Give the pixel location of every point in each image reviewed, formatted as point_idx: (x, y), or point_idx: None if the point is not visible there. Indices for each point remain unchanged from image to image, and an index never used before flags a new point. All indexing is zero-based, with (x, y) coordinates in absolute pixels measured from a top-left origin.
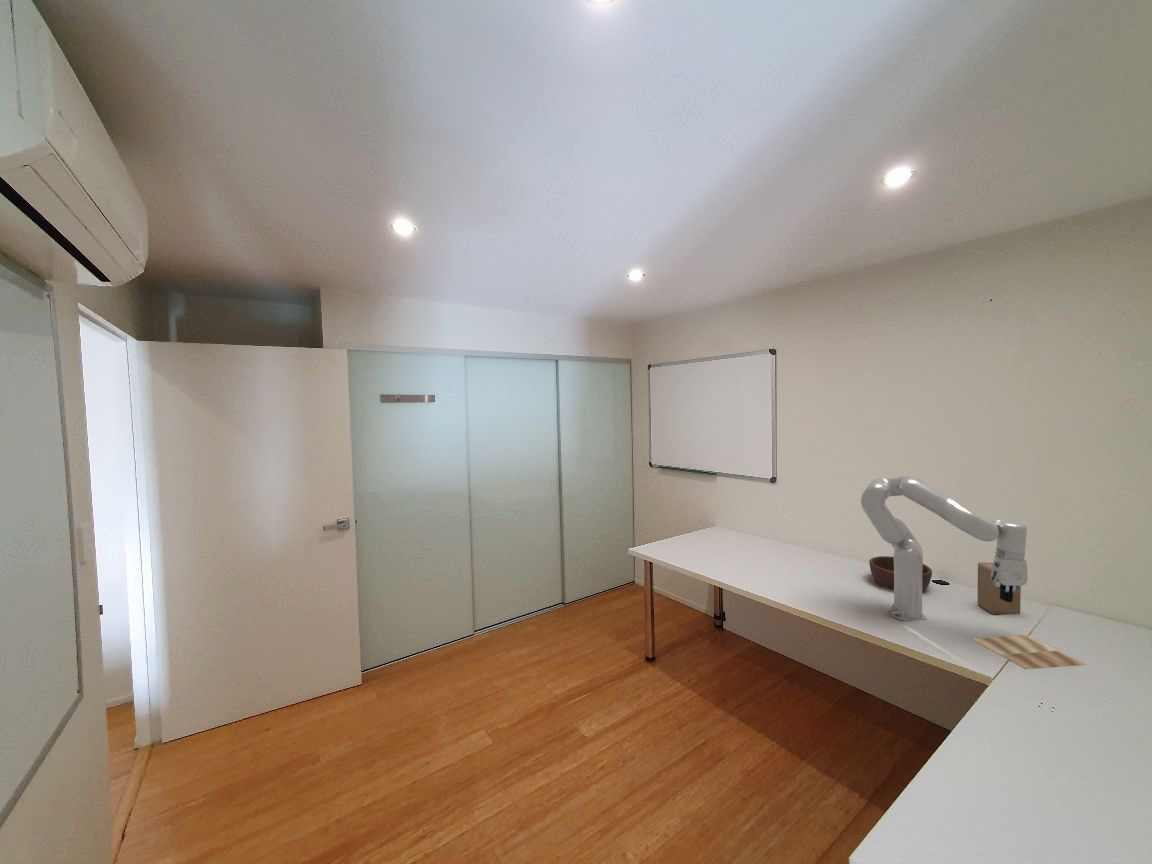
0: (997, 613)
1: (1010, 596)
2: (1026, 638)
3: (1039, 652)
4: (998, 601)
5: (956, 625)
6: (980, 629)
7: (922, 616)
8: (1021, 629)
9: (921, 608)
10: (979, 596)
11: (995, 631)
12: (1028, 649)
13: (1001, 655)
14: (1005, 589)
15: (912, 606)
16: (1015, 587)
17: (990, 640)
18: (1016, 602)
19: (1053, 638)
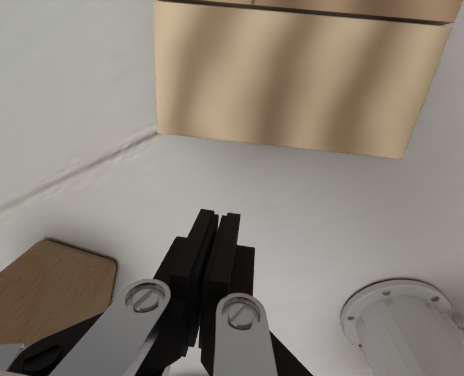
0: (105, 262)
1: (209, 245)
2: (181, 111)
3: (249, 2)
4: (75, 296)
5: (302, 247)
6: (251, 212)
7: (368, 304)
8: (113, 181)
9: (409, 332)
10: None
11: (215, 191)
12: (269, 35)
13: (452, 17)
14: (267, 339)
15: (460, 348)
16: (92, 338)
17: (341, 132)
18: (13, 276)
19: (59, 109)
